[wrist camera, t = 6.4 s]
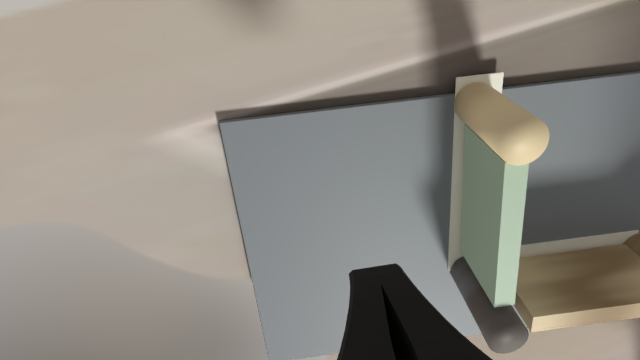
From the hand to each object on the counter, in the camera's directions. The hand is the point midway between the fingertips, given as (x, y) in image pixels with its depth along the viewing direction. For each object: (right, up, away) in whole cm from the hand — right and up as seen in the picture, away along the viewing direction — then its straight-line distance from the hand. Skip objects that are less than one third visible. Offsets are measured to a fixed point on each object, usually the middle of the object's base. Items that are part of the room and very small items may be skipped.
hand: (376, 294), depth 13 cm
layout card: (+5, +1, +8) cm, 10 cm away
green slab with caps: (+5, +3, +6) cm, 9 cm away
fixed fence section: (+9, 0, +9) cm, 13 cm away
